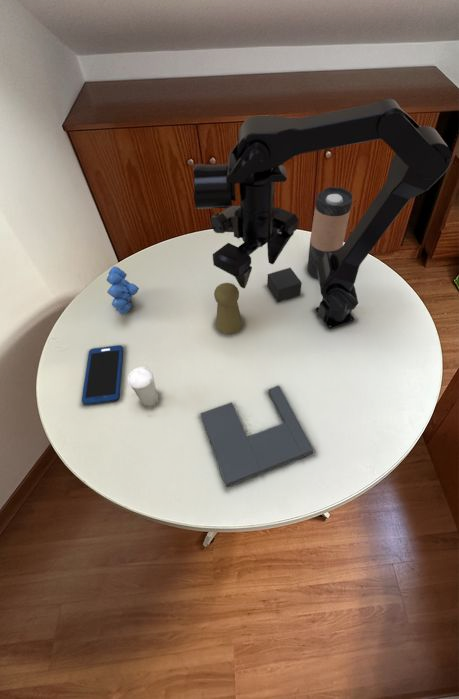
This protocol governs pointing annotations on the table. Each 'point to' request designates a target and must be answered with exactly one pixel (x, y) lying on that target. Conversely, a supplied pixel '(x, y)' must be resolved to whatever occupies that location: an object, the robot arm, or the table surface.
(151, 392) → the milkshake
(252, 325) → the table surface
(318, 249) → the travel mug
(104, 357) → the cell phone
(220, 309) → the olive pawn
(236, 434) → the base pad
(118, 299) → the grapes
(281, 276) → the black block
